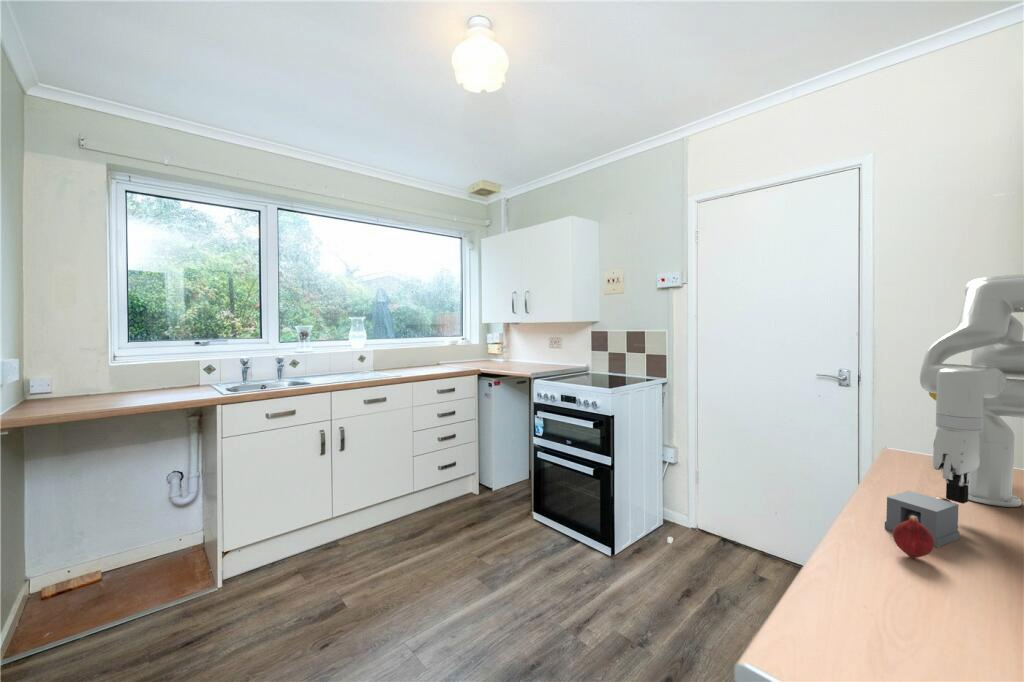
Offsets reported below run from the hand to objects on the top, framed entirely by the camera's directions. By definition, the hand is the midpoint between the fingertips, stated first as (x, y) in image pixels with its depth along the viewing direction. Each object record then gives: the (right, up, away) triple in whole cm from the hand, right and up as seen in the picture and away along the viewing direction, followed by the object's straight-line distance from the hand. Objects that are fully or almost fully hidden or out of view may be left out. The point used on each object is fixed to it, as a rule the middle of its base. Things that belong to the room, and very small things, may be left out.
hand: (956, 500), depth 100 cm
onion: (-25, -5, -16) cm, 31 cm away
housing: (-14, -5, -6) cm, 16 cm away
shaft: (-12, -3, -5) cm, 13 cm away
